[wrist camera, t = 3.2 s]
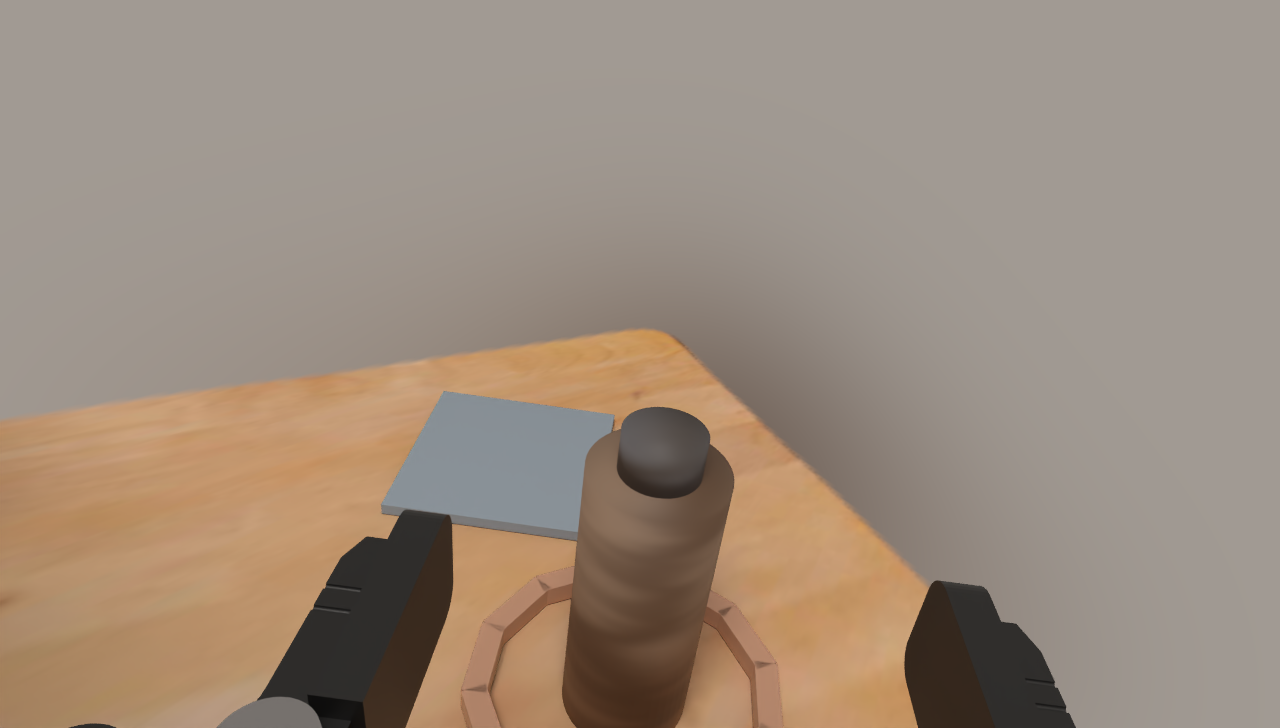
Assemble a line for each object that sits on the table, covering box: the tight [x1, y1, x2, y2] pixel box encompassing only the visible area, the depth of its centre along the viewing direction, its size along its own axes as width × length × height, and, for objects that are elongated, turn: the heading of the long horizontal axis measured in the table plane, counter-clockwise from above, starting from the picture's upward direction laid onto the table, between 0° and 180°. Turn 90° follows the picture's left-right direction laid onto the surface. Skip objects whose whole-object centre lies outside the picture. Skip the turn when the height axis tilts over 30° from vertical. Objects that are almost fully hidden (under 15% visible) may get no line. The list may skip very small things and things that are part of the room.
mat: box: [381, 391, 614, 541], centre depth 45 cm, size 11×11×1 cm
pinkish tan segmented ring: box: [461, 566, 783, 728], centre depth 33 cm, size 13×13×1 cm
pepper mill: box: [562, 407, 734, 728], centre depth 29 cm, size 5×5×14 cm
